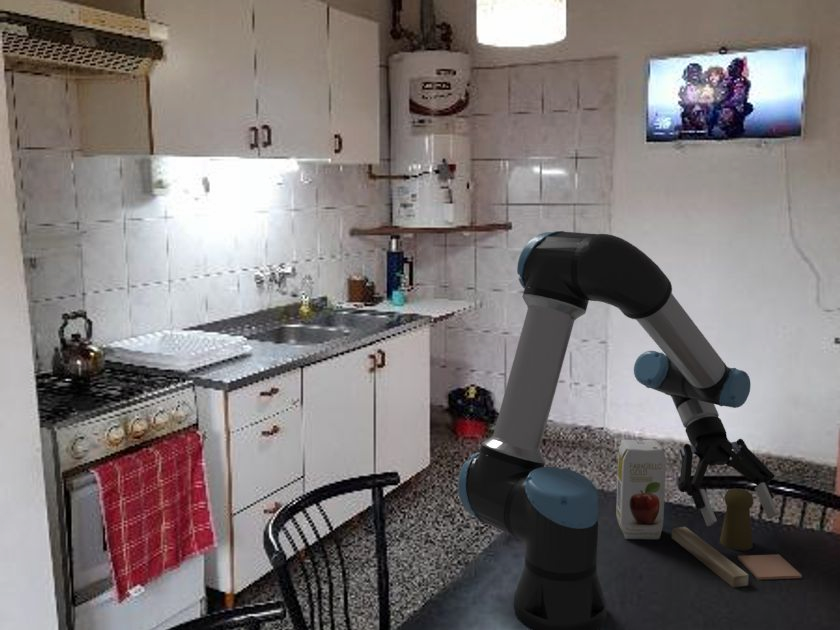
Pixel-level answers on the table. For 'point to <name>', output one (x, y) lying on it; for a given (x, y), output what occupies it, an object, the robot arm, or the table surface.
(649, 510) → the juice carton
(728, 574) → the straightedge
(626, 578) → the table surface
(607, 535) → the table surface
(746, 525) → the olive domed peg
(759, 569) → the end plate
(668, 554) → the table surface
